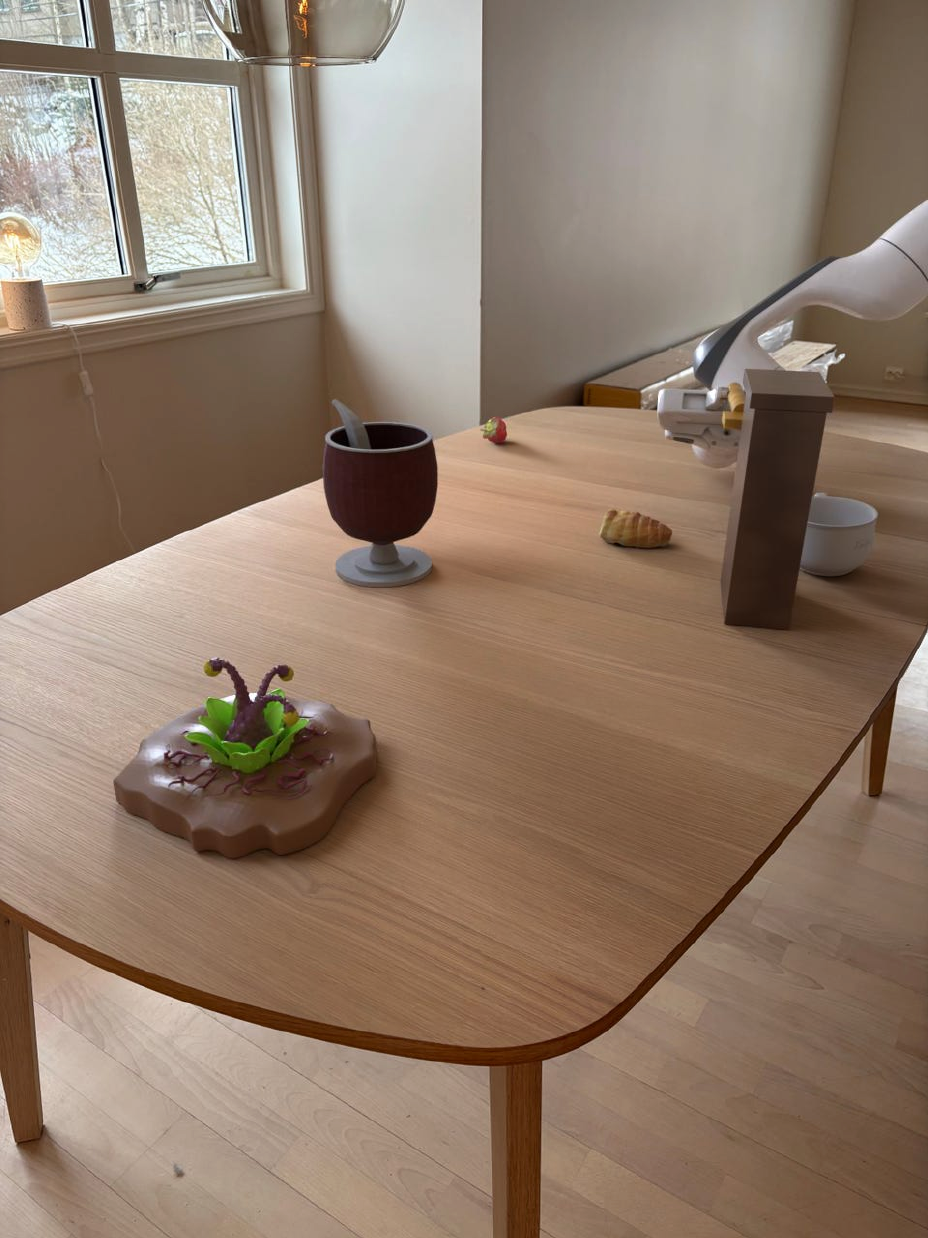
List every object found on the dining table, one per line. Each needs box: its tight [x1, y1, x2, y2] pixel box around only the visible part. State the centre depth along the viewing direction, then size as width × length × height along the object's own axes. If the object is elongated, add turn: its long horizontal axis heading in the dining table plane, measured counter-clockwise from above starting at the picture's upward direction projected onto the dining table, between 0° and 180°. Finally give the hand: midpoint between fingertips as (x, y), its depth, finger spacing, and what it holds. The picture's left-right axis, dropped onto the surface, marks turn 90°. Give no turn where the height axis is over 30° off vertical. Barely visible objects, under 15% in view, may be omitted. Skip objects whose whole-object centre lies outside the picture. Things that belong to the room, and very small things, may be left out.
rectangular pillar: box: [720, 369, 836, 631], centre depth 106 cm, size 8×12×26 cm, turn 168°
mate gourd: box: [321, 398, 439, 588], centre depth 117 cm, size 16×14×20 cm
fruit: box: [479, 416, 508, 444], centre depth 171 cm, size 4×6×5 cm
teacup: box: [799, 492, 879, 577], centre depth 121 cm, size 14×11×8 cm
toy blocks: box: [722, 382, 746, 430], centre depth 120 cm, size 4×22×2 cm, turn 168°
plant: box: [113, 657, 378, 859], centre depth 78 cm, size 20×20×11 cm
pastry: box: [598, 508, 673, 549], centre depth 129 cm, size 9×7×4 cm
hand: (736, 393), depth 126 cm, fingers closed on toy blocks, 2 cm apart
